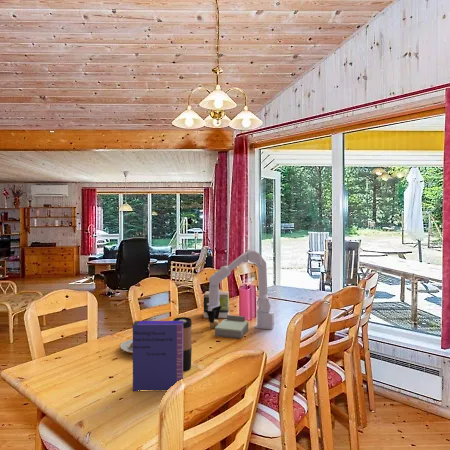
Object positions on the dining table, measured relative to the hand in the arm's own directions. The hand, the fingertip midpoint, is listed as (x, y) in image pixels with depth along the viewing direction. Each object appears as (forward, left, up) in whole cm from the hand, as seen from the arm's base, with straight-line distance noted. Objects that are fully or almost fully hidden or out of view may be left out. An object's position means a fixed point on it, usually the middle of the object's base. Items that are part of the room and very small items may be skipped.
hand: (213, 320), depth 199 cm
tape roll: (0, 0, -4) cm, 4 cm away
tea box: (+6, -22, -4) cm, 23 cm away
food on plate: (+19, +39, -5) cm, 44 cm away
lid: (-12, +5, 0) cm, 13 cm away
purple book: (-4, +72, -4) cm, 72 cm away
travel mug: (-5, +54, -4) cm, 54 cm away
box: (-12, +5, -4) cm, 14 cm away
